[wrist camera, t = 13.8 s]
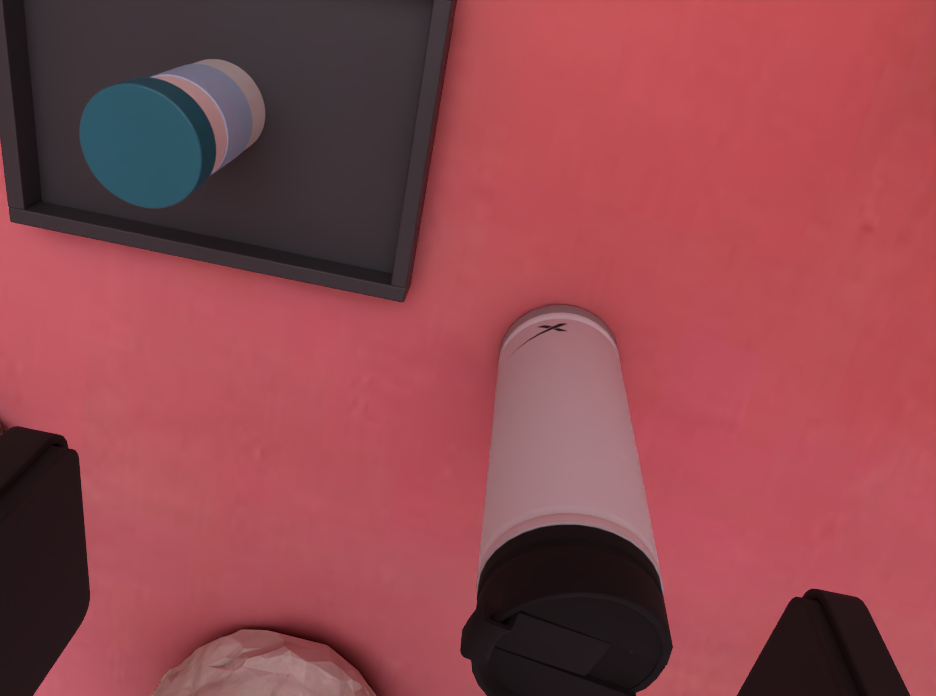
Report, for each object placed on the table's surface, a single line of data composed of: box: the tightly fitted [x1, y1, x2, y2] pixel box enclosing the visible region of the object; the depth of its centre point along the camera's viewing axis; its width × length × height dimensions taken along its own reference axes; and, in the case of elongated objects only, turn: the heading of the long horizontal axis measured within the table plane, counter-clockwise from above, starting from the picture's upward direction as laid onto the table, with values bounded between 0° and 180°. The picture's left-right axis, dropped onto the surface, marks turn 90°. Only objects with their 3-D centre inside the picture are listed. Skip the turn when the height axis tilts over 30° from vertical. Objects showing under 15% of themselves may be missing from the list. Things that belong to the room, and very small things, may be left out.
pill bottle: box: [80, 59, 265, 208], centre depth 31 cm, size 5×5×8 cm
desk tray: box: [0, 0, 457, 302], centre depth 34 cm, size 15×20×2 cm
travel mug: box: [460, 305, 673, 696], centre depth 31 cm, size 6×7×20 cm
